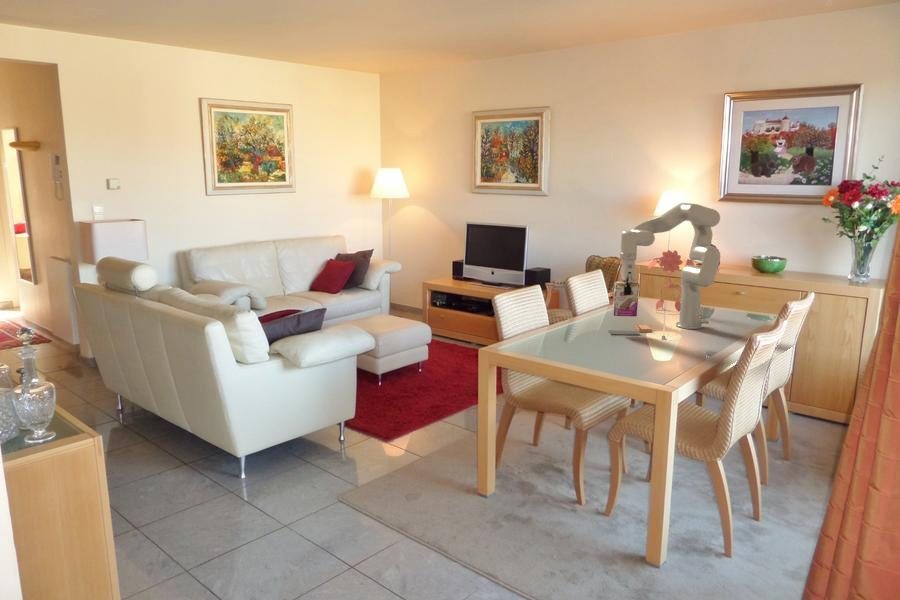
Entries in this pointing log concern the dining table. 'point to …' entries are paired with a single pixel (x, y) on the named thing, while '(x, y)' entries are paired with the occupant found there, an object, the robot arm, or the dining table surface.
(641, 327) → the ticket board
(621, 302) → the candy bar box
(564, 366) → the dining table surface
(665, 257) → the pink artificial flower
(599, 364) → the dining table surface
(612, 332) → the rubber pad
